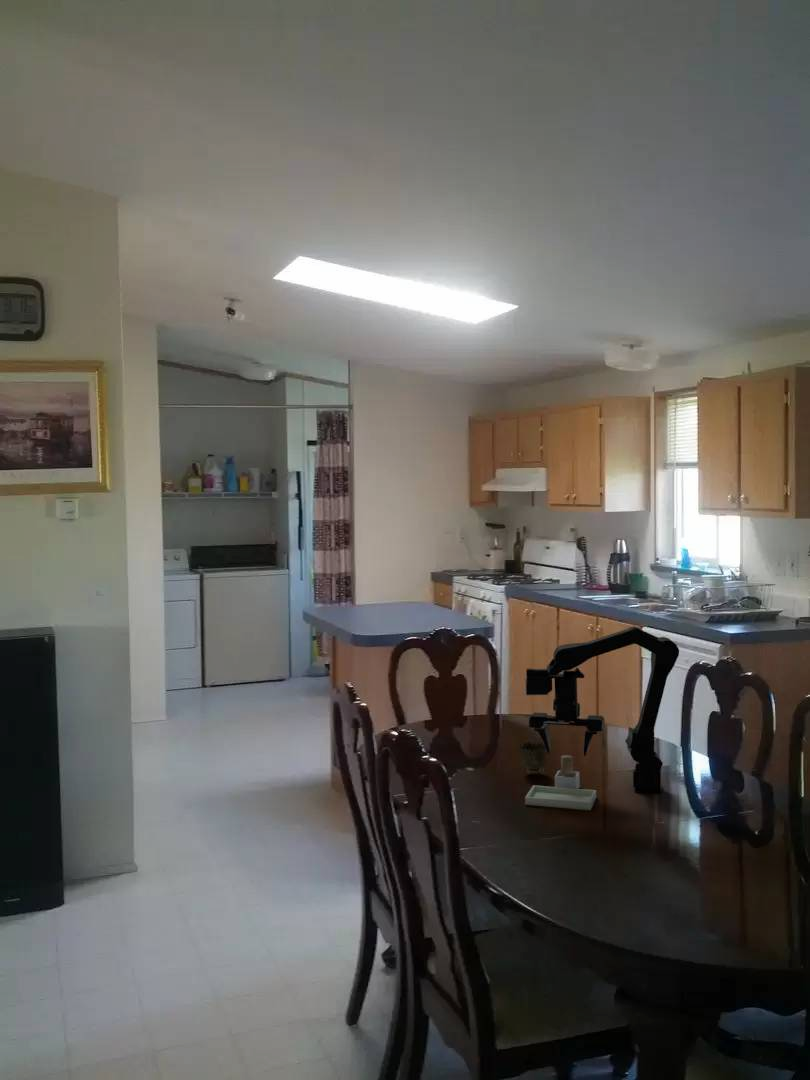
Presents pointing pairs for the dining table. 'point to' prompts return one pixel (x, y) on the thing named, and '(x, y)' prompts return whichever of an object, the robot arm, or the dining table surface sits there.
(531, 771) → the cup
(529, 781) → the dining table surface
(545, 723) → the robot arm
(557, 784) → the grey square sleeve
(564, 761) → the dowel
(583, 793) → the tray
